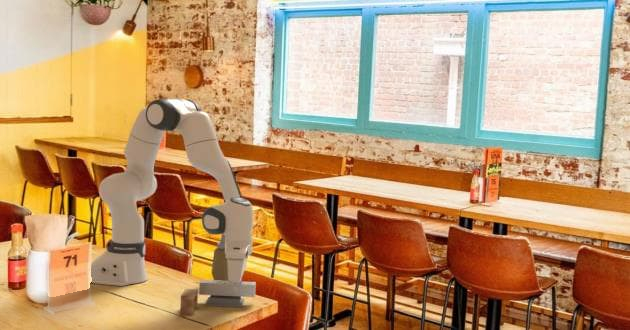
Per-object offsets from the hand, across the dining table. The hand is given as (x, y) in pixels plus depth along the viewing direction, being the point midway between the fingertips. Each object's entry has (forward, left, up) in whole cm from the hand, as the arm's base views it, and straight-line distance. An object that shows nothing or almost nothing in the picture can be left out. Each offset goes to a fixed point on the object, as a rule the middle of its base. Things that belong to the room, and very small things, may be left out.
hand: (237, 289), depth 245 cm
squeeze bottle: (-8, +25, -5) cm, 27 cm away
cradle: (-4, 0, -5) cm, 6 cm away
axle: (-3, 0, -2) cm, 4 cm away
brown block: (-14, -10, -5) cm, 18 cm away
